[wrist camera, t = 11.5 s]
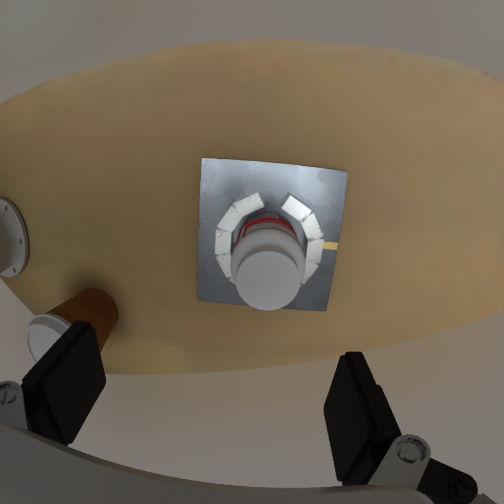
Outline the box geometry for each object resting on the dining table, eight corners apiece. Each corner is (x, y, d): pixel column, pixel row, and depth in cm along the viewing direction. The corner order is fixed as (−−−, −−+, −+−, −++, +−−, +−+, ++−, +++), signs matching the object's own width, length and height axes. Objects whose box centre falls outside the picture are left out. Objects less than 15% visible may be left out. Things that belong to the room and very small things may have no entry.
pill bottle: (267, 278, 34) (267, 333, 23) (226, 240, 32) (207, 283, 22) (308, 239, 32) (328, 281, 21) (267, 198, 31) (267, 222, 20)
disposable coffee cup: (129, 286, 36) (83, 337, 25) (128, 345, 39) (93, 401, 28) (69, 269, 36) (15, 308, 24) (73, 326, 39) (30, 372, 27)
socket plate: (199, 296, 36) (192, 311, 32) (204, 158, 31) (196, 158, 27) (324, 306, 36) (329, 322, 32) (345, 171, 31) (354, 173, 27)
